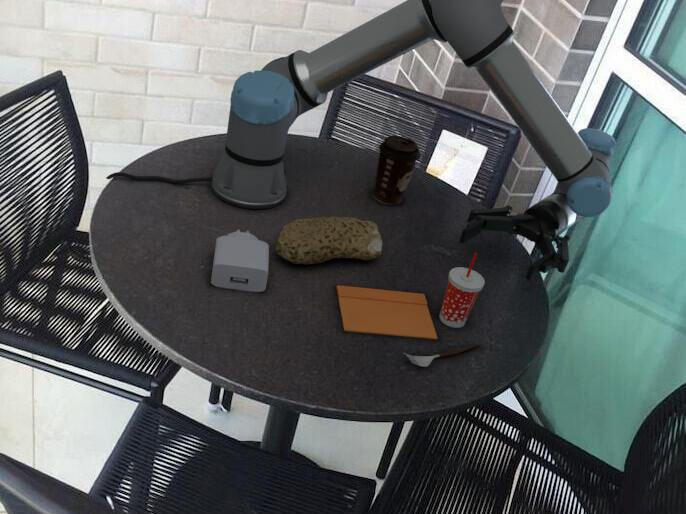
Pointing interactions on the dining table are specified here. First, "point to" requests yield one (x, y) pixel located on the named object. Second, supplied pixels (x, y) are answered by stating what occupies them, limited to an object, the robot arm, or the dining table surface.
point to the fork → (426, 360)
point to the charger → (240, 262)
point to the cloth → (385, 312)
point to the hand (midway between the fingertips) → (495, 254)
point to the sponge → (329, 240)
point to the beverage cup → (460, 295)
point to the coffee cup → (394, 169)
